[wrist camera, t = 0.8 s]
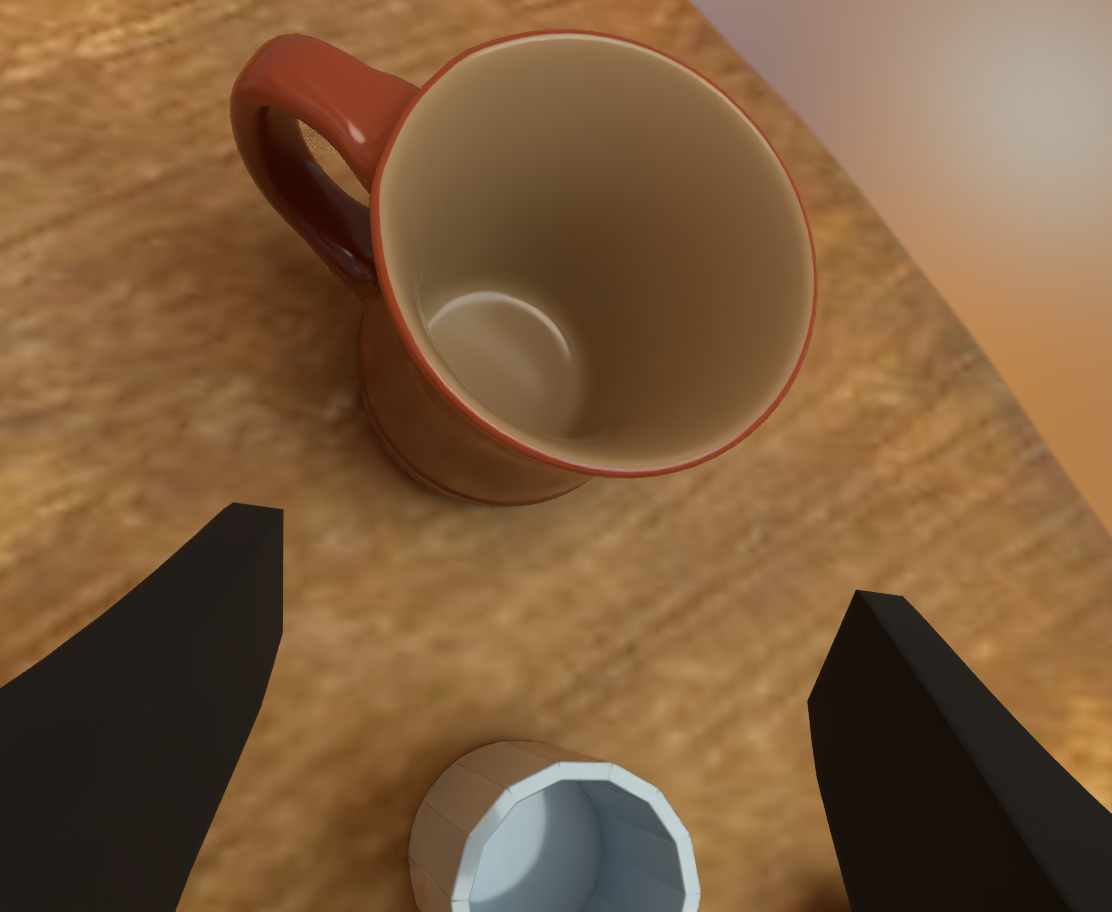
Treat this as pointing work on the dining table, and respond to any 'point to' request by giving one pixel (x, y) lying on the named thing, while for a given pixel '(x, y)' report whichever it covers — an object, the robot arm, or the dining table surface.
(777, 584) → the dining table surface
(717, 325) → the mug
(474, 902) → the cup
